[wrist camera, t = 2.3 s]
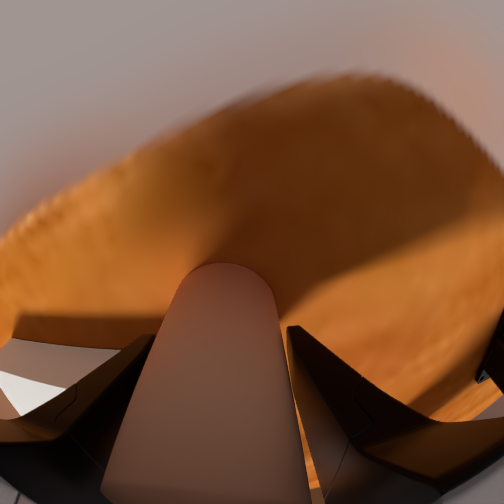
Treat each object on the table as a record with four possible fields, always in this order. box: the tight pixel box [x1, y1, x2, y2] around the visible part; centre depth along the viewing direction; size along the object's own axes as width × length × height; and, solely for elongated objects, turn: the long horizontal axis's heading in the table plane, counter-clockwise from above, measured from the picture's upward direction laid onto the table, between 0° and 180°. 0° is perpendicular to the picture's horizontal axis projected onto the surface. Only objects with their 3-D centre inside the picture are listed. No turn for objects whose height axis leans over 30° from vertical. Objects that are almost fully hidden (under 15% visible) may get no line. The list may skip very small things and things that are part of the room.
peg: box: [100, 263, 312, 504], centre depth 7 cm, size 4×4×8 cm
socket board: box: [0, 338, 121, 416], centre depth 12 cm, size 12×12×3 cm
